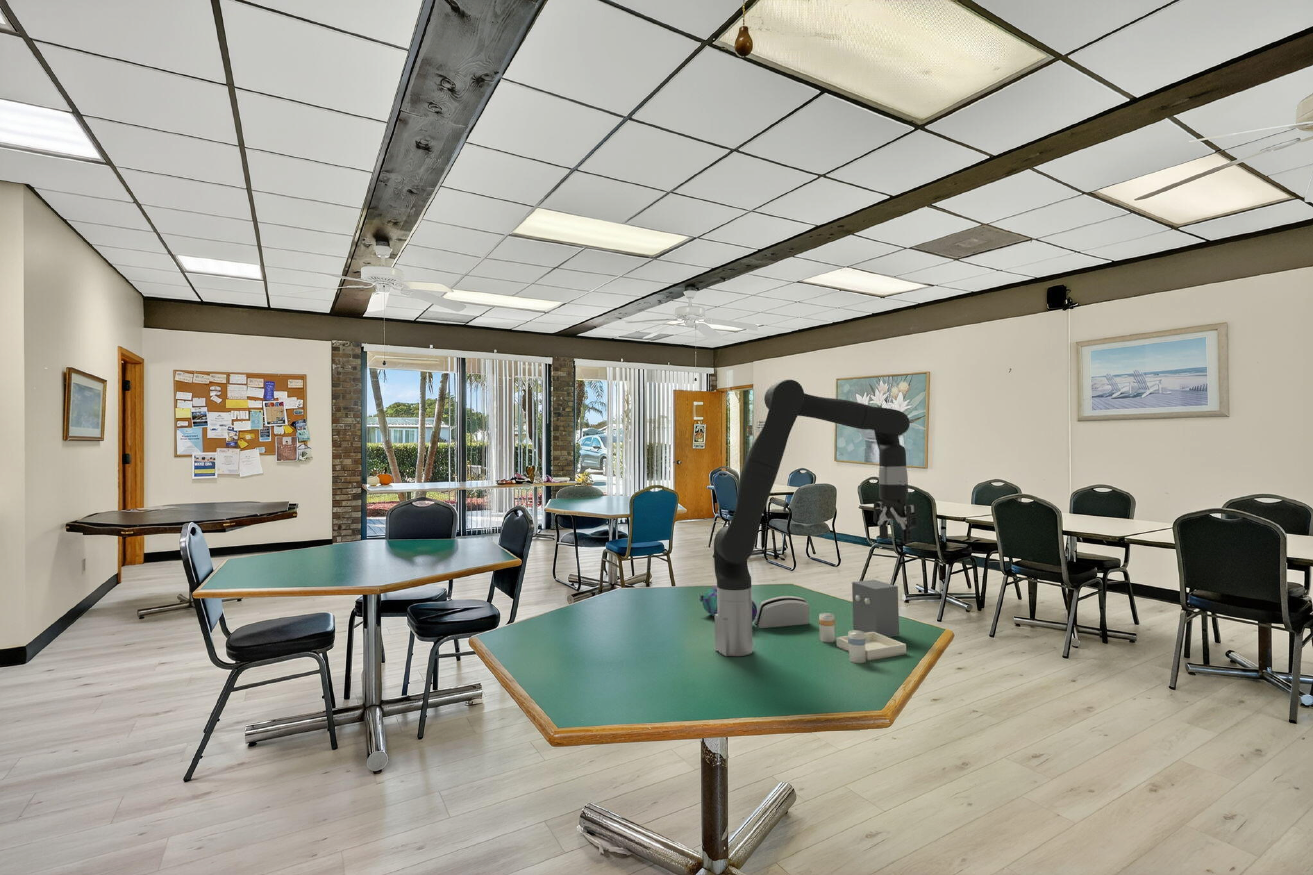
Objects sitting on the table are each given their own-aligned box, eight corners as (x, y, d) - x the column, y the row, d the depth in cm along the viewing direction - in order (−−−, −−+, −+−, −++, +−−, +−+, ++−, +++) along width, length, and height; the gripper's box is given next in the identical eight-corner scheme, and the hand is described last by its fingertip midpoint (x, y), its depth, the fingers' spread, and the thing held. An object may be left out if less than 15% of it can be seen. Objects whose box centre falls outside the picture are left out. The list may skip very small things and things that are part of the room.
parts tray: (867, 660, 155) (867, 650, 155) (836, 646, 167) (836, 637, 167) (906, 654, 159) (906, 644, 160) (873, 640, 171) (873, 631, 171)
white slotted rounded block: (802, 619, 194) (806, 591, 191) (809, 628, 189) (813, 600, 186) (752, 623, 190) (756, 595, 187) (758, 632, 186) (762, 604, 183)
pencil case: (699, 615, 201) (699, 586, 201) (722, 611, 205) (721, 582, 205) (735, 631, 183) (735, 599, 183) (759, 627, 187) (759, 595, 187)
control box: (874, 639, 172) (873, 589, 172) (851, 629, 182) (850, 582, 182) (900, 635, 175) (899, 586, 176) (876, 626, 185) (874, 579, 185)
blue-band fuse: (856, 664, 153) (855, 636, 153) (845, 659, 157) (844, 631, 157) (870, 661, 154) (869, 633, 154) (858, 656, 158) (858, 629, 158)
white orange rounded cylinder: (825, 643, 170) (824, 617, 170) (816, 638, 174) (815, 614, 174) (838, 641, 171) (837, 616, 171) (828, 636, 175) (828, 612, 175)
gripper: (865, 482, 176) (866, 538, 175) (901, 484, 162) (903, 545, 162) (885, 481, 178) (887, 537, 178) (923, 483, 165) (925, 543, 165)
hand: (895, 541), depth 170 cm, fingers open, 8 cm apart
